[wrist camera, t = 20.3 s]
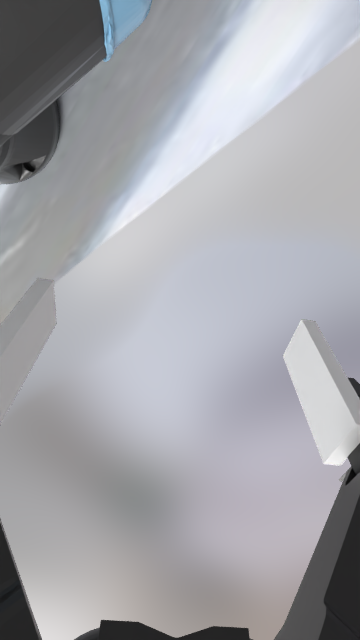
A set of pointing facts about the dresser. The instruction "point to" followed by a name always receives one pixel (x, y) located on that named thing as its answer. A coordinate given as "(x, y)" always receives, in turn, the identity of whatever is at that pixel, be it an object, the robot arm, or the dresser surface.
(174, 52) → the dresser surface
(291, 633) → the robot arm
